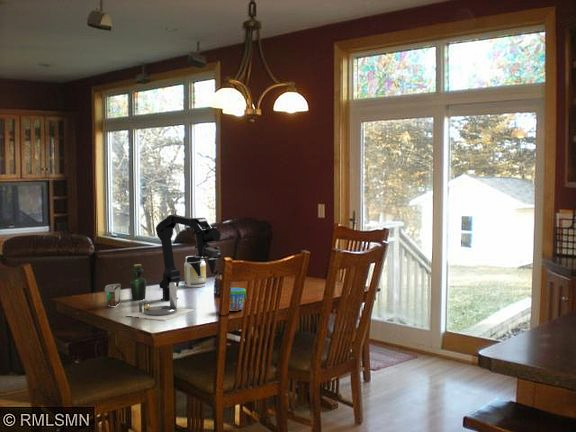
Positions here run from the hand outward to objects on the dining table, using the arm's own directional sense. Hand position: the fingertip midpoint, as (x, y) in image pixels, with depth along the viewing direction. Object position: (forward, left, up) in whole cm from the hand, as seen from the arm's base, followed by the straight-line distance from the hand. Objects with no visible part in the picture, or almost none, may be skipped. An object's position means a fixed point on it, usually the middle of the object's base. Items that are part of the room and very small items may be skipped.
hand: (206, 275), depth 316 cm
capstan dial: (-9, -25, -15) cm, 30 cm away
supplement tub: (-36, +43, -15) cm, 58 cm away
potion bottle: (-41, -1, -15) cm, 44 cm away
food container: (-43, -19, -15) cm, 50 cm away
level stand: (-9, -25, -15) cm, 30 cm away
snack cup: (+19, -5, -15) cm, 25 cm away
